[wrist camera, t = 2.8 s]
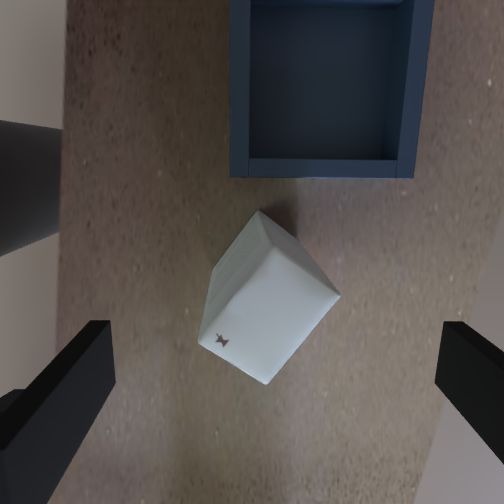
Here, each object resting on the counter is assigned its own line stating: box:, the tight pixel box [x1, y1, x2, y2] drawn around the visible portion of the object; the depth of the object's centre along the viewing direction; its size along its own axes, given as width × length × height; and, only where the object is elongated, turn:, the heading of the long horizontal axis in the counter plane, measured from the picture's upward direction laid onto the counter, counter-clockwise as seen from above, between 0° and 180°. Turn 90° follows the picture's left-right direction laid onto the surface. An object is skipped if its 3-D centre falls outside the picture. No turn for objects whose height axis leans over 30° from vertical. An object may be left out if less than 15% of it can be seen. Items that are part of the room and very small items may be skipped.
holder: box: [230, 0, 435, 179], centre depth 24 cm, size 12×12×4 cm
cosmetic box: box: [198, 210, 341, 385], centre depth 23 cm, size 6×4×12 cm
